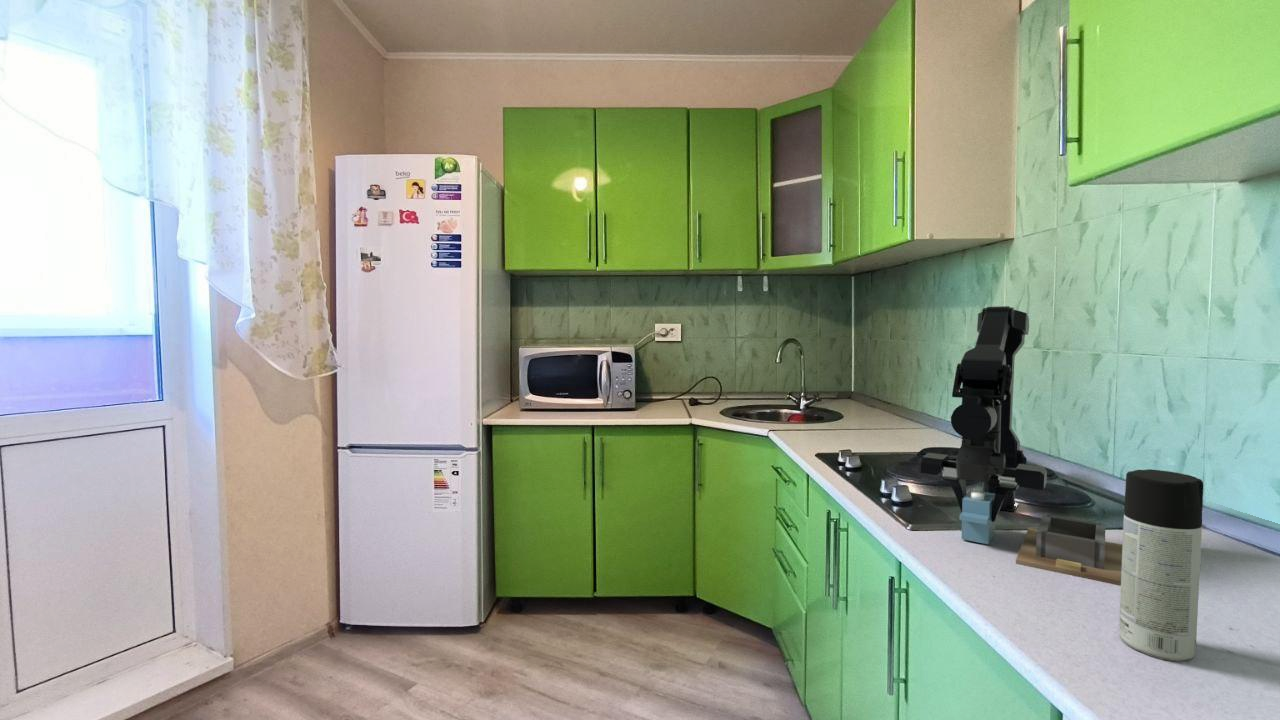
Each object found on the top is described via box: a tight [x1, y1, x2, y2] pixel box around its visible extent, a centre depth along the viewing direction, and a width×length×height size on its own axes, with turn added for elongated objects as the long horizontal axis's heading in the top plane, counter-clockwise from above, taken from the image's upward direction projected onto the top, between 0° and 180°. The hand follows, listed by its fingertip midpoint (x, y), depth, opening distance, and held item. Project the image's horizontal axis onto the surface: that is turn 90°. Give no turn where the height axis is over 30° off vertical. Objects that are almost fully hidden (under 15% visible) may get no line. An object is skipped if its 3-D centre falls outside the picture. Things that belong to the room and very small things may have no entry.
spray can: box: [1118, 468, 1204, 662], centre depth 66 cm, size 7×7×20 cm
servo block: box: [958, 489, 996, 545], centre depth 101 cm, size 12×4×8 cm, turn 141°
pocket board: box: [1015, 513, 1123, 586], centre depth 93 cm, size 18×13×4 cm
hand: (978, 518), depth 102 cm, fingers closed on servo block, 4 cm apart
